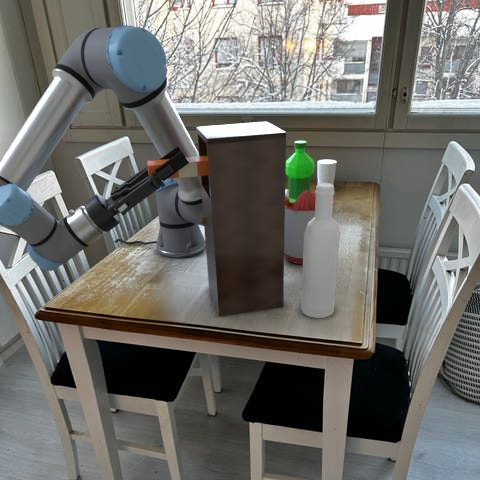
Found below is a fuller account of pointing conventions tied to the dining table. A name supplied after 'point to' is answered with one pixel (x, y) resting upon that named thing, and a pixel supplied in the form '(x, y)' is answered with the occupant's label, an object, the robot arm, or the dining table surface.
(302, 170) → the plastic bottle
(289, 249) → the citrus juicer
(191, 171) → the block
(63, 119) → the robot arm
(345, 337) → the dining table surface
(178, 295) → the dining table surface
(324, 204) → the bottle
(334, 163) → the white cup
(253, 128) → the cupboard
